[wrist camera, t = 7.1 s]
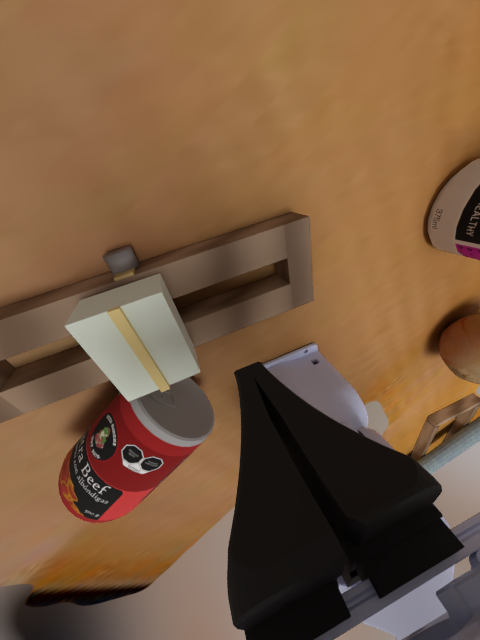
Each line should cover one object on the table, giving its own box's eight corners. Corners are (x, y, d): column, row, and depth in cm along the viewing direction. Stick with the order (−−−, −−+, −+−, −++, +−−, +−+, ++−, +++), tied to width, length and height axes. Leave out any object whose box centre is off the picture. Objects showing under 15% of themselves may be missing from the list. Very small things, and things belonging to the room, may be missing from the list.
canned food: (50, 444, 20) (122, 357, 18) (132, 433, 27) (192, 368, 24) (57, 549, 16) (153, 451, 14) (154, 505, 22) (228, 434, 20)
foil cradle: (473, 393, 52) (483, 400, 50) (439, 450, 67) (446, 457, 66) (427, 416, 50) (437, 424, 48) (404, 469, 66) (411, 476, 64)
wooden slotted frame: (290, 193, 17) (308, 196, 15) (299, 300, 23) (314, 312, 21) (-96, 316, 14) (-138, 339, 12) (24, 407, 19) (9, 434, 17)
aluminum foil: (481, 412, 54) (499, 424, 51) (482, 420, 58) (499, 432, 55) (402, 468, 57) (415, 483, 55) (408, 473, 61) (420, 487, 58)
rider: (159, 261, 16) (161, 293, 12) (190, 330, 20) (201, 375, 16) (88, 284, 16) (61, 328, 11) (134, 352, 20) (128, 405, 15)
